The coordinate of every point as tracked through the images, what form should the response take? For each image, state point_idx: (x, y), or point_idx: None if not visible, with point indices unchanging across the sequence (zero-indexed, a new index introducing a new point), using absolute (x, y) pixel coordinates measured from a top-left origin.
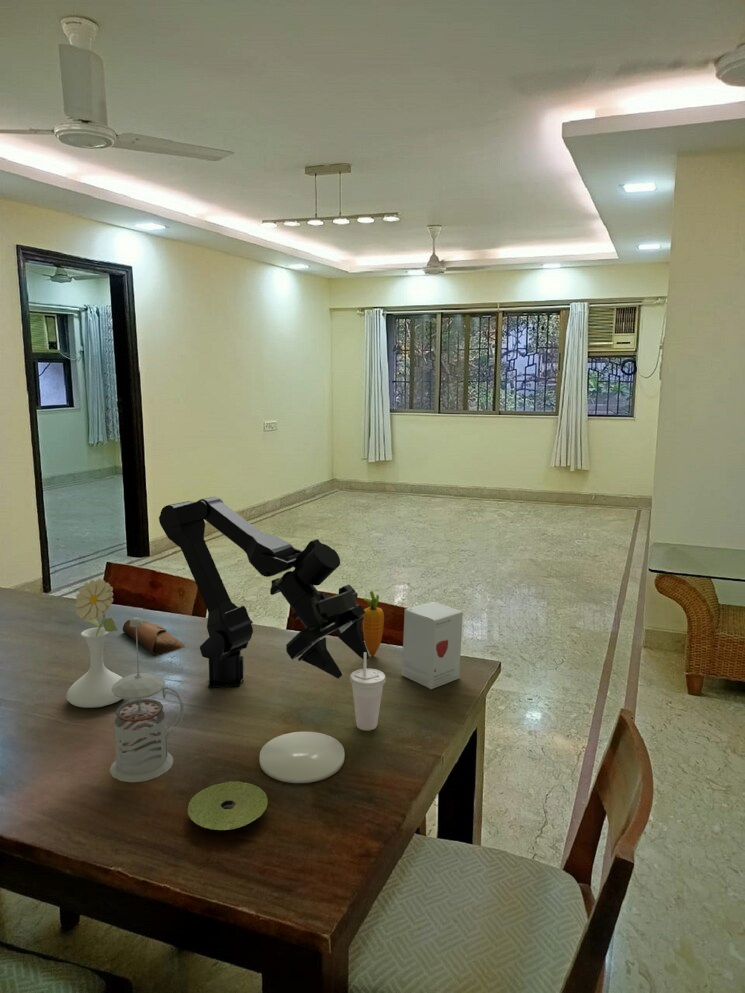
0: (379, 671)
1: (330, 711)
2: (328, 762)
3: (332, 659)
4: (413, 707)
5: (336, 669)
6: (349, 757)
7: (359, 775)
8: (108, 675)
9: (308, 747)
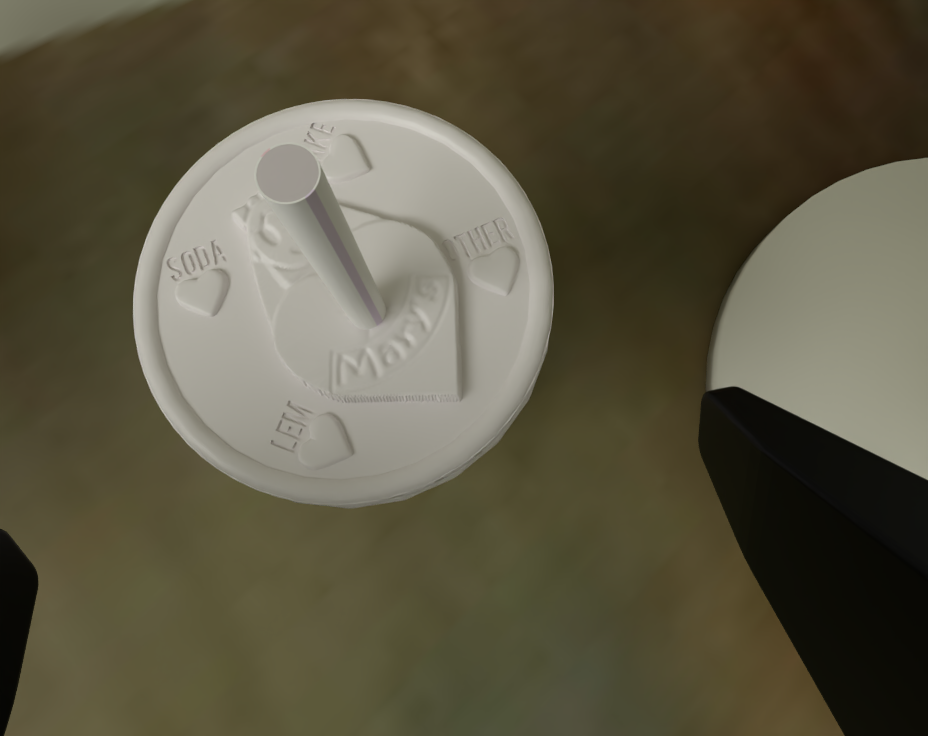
0: (156, 264)
1: (431, 707)
2: (916, 218)
3: (926, 546)
4: (26, 327)
5: (826, 431)
6: (737, 224)
7: (812, 81)
8: None
9: (911, 414)
